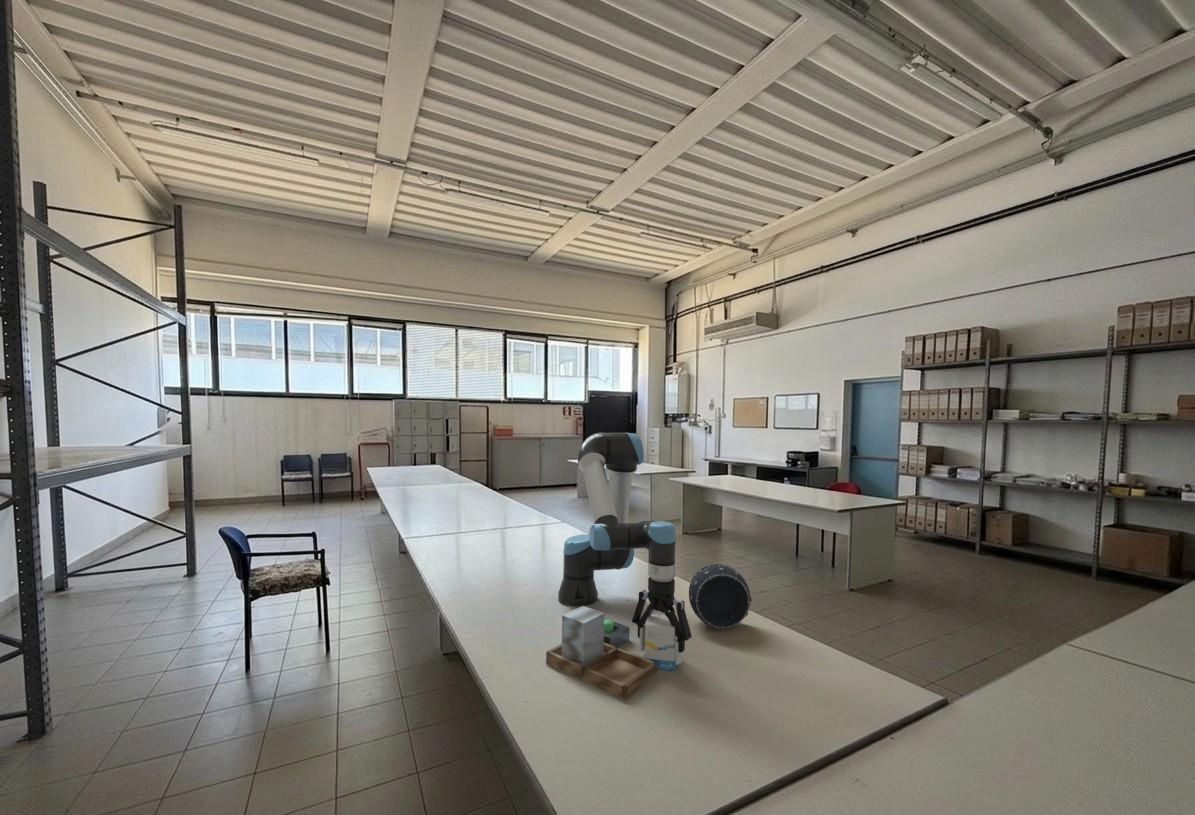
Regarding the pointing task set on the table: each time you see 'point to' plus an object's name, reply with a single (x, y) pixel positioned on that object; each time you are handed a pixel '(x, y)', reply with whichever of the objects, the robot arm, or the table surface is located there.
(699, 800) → the table surface
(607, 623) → the button
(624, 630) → the grey square socket block
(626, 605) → the table surface
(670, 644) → the ink box
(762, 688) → the table surface
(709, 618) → the dark round pouf
